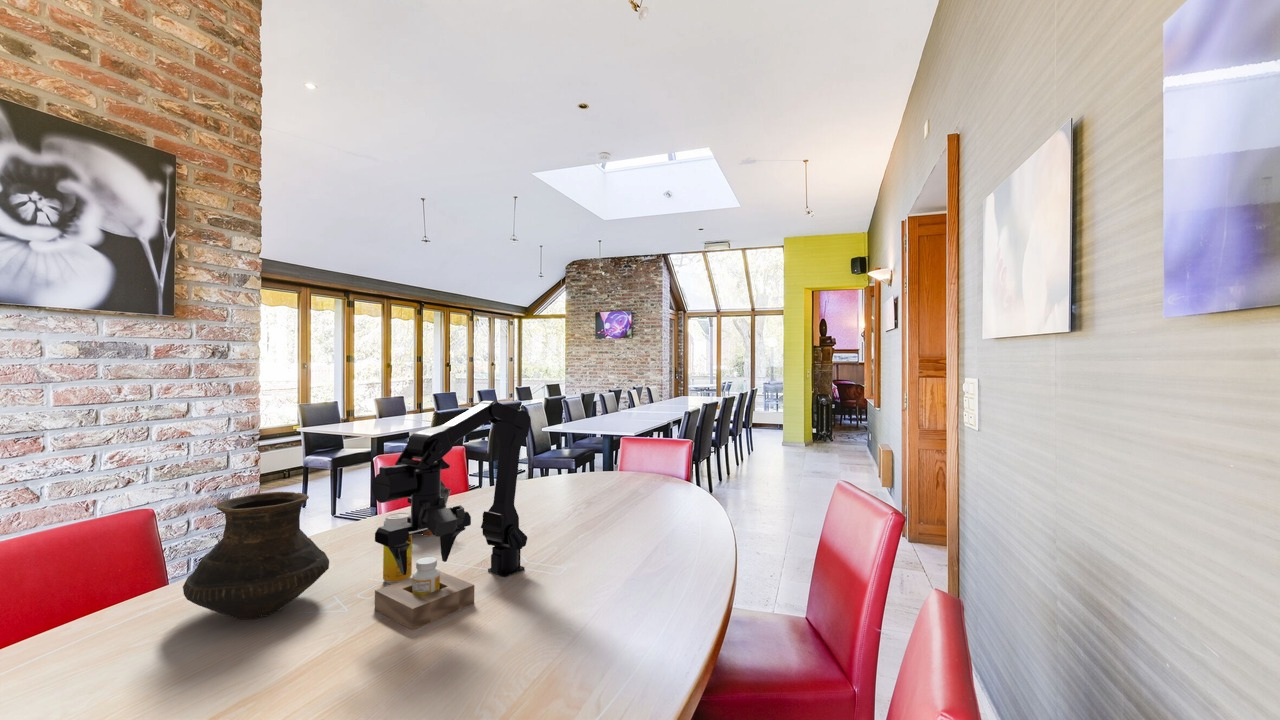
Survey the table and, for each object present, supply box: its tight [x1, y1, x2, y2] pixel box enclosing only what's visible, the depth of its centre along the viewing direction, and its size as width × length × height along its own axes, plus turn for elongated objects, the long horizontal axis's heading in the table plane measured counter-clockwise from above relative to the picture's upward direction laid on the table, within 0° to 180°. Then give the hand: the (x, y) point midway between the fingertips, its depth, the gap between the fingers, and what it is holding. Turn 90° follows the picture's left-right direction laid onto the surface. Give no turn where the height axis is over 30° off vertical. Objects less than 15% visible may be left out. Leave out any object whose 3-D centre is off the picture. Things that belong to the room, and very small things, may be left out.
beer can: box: [382, 512, 413, 585], centre depth 125 cm, size 6×6×15 cm
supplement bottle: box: [411, 556, 441, 597], centre depth 111 cm, size 5×5×10 cm
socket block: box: [374, 570, 475, 631], centre depth 111 cm, size 14×14×4 cm
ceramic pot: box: [182, 491, 330, 620], centre depth 109 cm, size 24×24×22 cm
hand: (424, 567), depth 111 cm, fingers open, 9 cm apart
